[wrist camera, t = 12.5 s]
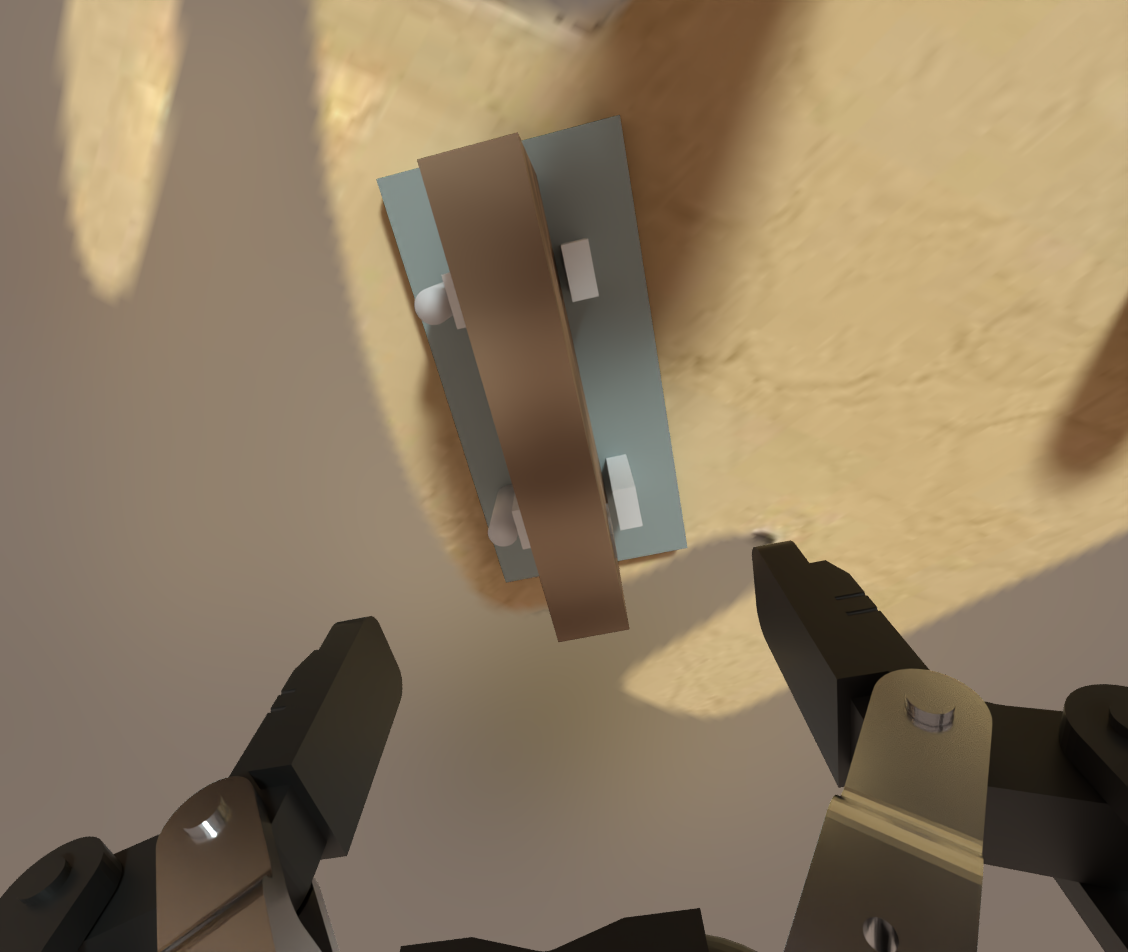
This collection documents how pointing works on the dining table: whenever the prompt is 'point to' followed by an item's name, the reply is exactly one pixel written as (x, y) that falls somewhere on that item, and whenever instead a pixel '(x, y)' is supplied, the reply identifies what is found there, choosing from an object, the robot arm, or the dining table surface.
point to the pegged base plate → (599, 332)
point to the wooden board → (529, 374)
